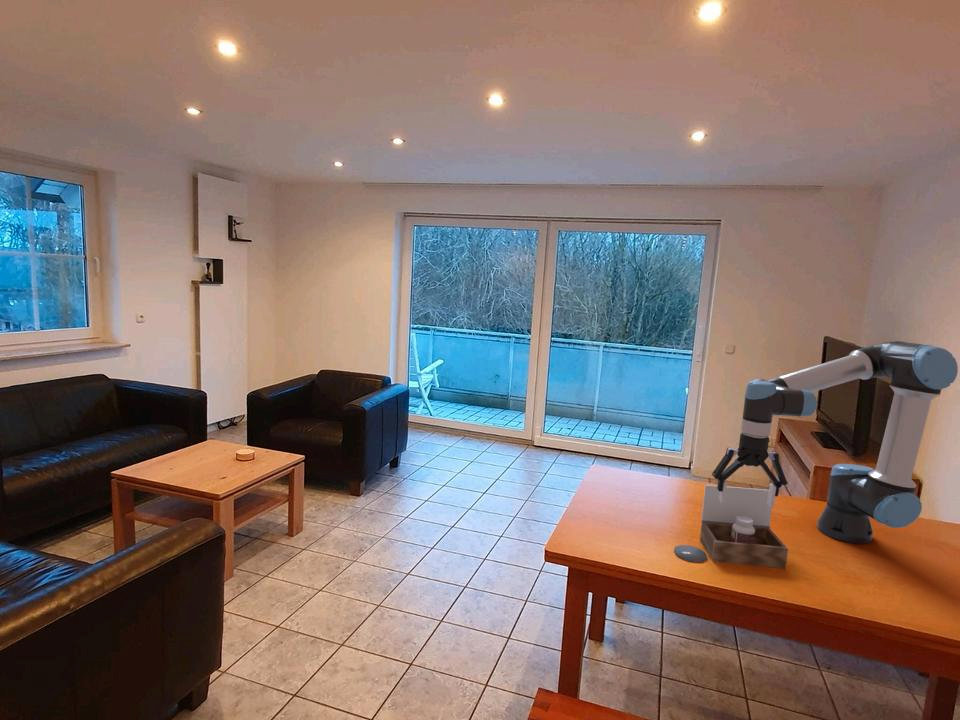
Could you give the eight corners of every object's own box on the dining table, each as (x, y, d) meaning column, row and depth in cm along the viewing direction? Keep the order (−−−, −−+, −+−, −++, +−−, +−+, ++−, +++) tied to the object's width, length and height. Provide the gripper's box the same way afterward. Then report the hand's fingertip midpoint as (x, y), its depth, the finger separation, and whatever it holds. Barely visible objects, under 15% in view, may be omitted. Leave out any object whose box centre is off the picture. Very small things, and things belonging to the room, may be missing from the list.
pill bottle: (756, 555, 159) (760, 520, 158) (744, 561, 156) (749, 525, 154) (736, 546, 164) (740, 512, 163) (725, 551, 161) (729, 517, 159)
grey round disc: (701, 548, 162) (701, 546, 162) (710, 563, 154) (710, 561, 153) (670, 545, 163) (671, 543, 163) (678, 560, 155) (678, 558, 154)
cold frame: (761, 540, 169) (766, 504, 167) (785, 568, 153) (790, 528, 151) (696, 534, 172) (700, 498, 170) (712, 561, 155) (717, 522, 153)
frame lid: (768, 527, 165) (773, 490, 163) (769, 529, 164) (774, 491, 162) (701, 521, 167) (705, 484, 166) (702, 523, 166) (706, 485, 165)
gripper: (794, 434, 157) (784, 502, 160) (706, 427, 160) (698, 494, 163) (806, 441, 150) (796, 513, 153) (714, 434, 152) (705, 504, 156)
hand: (745, 504), depth 158 cm, fingers open, 13 cm apart
